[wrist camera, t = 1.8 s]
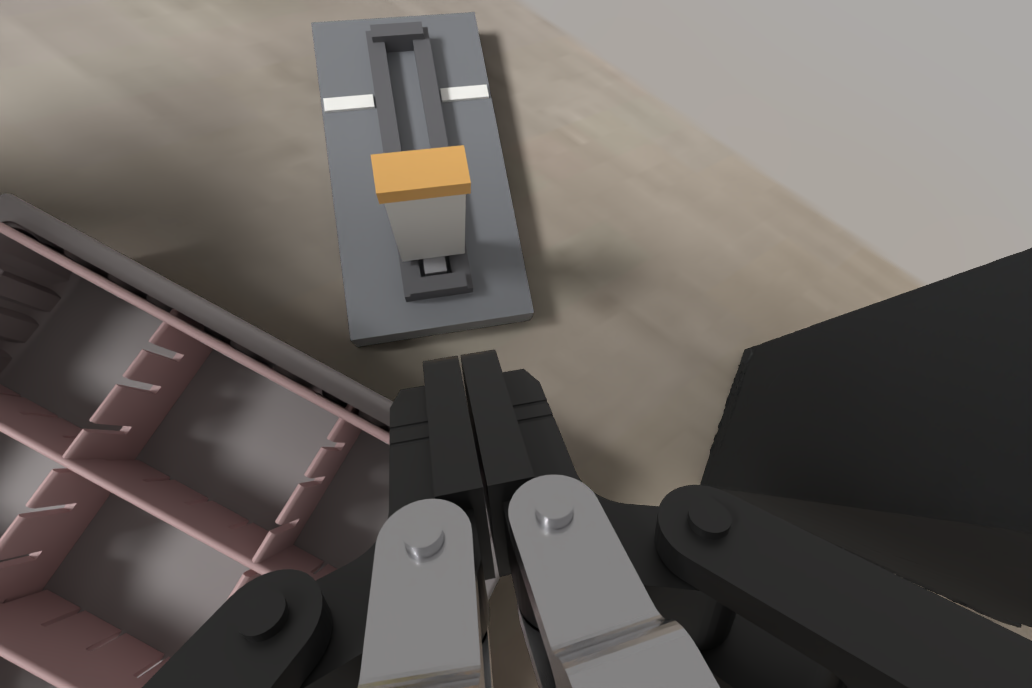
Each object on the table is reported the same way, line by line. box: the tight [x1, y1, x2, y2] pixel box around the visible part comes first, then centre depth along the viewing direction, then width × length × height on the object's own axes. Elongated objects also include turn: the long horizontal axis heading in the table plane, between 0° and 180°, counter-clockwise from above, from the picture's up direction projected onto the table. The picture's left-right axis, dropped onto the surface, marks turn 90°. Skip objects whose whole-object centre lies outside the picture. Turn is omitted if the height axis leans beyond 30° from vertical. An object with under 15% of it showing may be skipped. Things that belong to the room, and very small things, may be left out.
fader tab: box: [371, 145, 471, 276], centre depth 29 cm, size 4×4×10 cm
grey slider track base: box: [311, 12, 534, 347], centre depth 35 cm, size 24×12×4 cm, turn 11°
